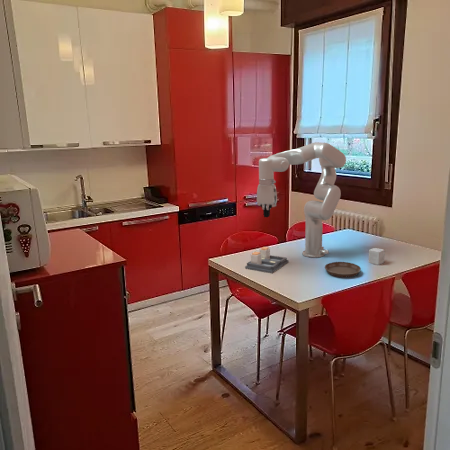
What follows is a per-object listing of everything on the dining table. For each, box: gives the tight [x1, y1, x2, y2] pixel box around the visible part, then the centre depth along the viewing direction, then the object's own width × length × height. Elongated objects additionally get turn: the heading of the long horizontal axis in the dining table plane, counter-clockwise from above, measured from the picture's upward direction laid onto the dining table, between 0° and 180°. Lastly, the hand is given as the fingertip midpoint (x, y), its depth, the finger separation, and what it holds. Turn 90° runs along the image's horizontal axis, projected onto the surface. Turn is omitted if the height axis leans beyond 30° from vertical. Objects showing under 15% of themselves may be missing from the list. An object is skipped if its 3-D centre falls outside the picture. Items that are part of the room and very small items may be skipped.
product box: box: [368, 247, 386, 266], centre depth 232 cm, size 6×6×7 cm
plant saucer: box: [324, 261, 362, 278], centre depth 220 cm, size 18×18×3 cm
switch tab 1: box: [250, 251, 262, 265], centre depth 232 cm, size 4×5×6 cm
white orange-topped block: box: [259, 246, 271, 259], centre depth 240 cm, size 4×5×6 cm
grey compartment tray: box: [244, 254, 289, 274], centre depth 234 cm, size 16×20×3 cm
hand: (266, 216), depth 228 cm, fingers closed
